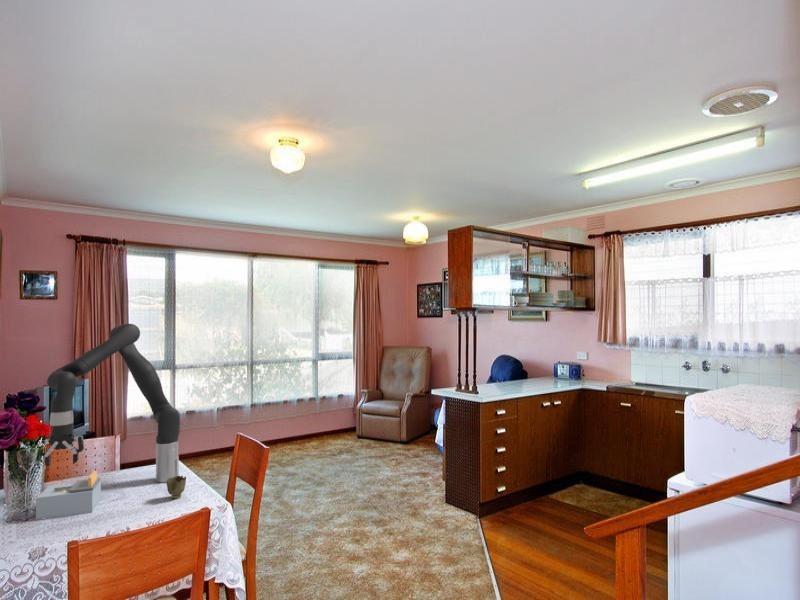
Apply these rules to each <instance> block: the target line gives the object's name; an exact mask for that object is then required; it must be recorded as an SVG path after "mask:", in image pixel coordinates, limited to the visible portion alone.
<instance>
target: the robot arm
mask: <svg viewBox="0 0 800 600" xmlns="http://www.w3.org/2000/svg"><path fill="white" fill-rule="evenodd" d="M109 334H110V335H109V338H108V339H107V340H105V341H104V342H102V343H101V344H98V345H97V346H95V347H93V348H91V349H90V350H88V351H86V352H84V353H83V354H82V355H80V356H79V357H77V358H76V359H75V360H73V361H72V362H70V363H67V364H66V365H63V366H62V367H60V368H57V369H55V370H54V371H53V372H51V374H49V376H48V377H47V380H46V385H47V387H48V388H50V389H52V390H53V389H54V390H56V394H55V396H53V397H52V398H51V400H50V416H49V427H50V426H53V430H52V427H51V430H52V431H51V433H50V432H49V438H48V439H47V438H44V439H45V440H42V439H41V440H42V443H43V444H44V445H45V446H46V445H48V444H49V445H50V447H49V449H47V451H46V447H45V448H44V453H42V456H41V457H43V458H44V465H45V466H46V468H47V467H49V468H50V467H51V465H52V464H51V463H52V455H51V454H52V453H53V451H54V450H55V451H59V450H67V449H68V450H69V451H71V453H72V464H76V463H77V462H78V461H79V453H81V452H83V451H84V449H85V444H84V435H77V436H74V412H73V406H74V405H73V402H74V401H73V399H74V396H75V392H76V389H77V382H78V381H77V378H78V377H83V376H85V375H87V374H88V373H90V372H91V371H92V370H93V369H95V368H96V367H98V366H99V365H100V364H102V363H103V362H104V361H106V360H107V359H109V358H110V357H112V356H113V355H114V354H116V353H117V352H118V353H119V355H120V356H121V357H122V359H123V361H124V362H125V364H126V367H127V369H128V371H130V374H131V376H132V378H133V380H134V382H135V384H136V385H137V387H138V389H139V390H140V392H141V394H142V395H143V397H144V398H145V399H146V401H147V402H148V405H149V407H150V409H151V412H152V415H153V418H154V419H155V422H156V423H157V435H156V437H155V481H156V482H157V483H167V481H166V480H167V479H169V478H171V477H172V478H173V477H174V476H175V477H177V476H180V472H179V471H180V469H179V468H180V467H179V465H180V464H179V462H180V461H179V460H180V459H179V457H180V456H179V436H180V426H181V424H180V423H181V417H180V412H179V410H178V409H176V408H175V407H173V406H172V405H171V404H170V402H169V400H168V399H167V397H166V395H165V393H164V391H163V385H162V382H161V379H160V377H159V374H158V373H157V370H156V369H155V367H154V365H153V364H152V363H151V362H150V361H149V359H147V358H146V357H145V356H144V355H142V354H141V353H140V352H139V350H138V349H137V346H136V344H135V343H136V342H137V341H138V340H139V338H140V336H141V331H140V328H139V327H138V326H137V325H135V324H134V323H125V324H120V325H117V326H115V327H113V328H112V329H111V331H110V333H109ZM74 441H75V442H76V443H77V445H78V446H76V445H75V444H74V443H73V442H74Z"/></svg>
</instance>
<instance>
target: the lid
mask: <svg viewBox="0 0 800 600" xmlns="http://www.w3.org/2000/svg"><path fill="white" fill-rule="evenodd" d="M100 480H101V478H100V477H98V470H93V471H92V472H91V473H90V474H89V476H88V477H87V479H79V480H77V481H76V482H74V483H75V484H74V485H73V486H72V487H71V488H70V489H69V492H77V491H85V490H93V489H94V488H95V486H96V485H97V484H98V482H99V481H100Z"/></svg>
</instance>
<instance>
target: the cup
mask: <svg viewBox="0 0 800 600" xmlns="http://www.w3.org/2000/svg"><path fill="white" fill-rule="evenodd" d="M166 481H167V482H166V487H167V492H168V494H169V495H170V496H171V498H172V499H173V500H178V499H179V498H181V497H182V493H183V492H184V491H185V489H186V481H187V477H186V475H185V476H183V475H179V476H177V477H175V476H174V477H173V478H172V477H171V478H169V479H167V480H166Z"/></svg>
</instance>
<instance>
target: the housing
mask: <svg viewBox="0 0 800 600" xmlns="http://www.w3.org/2000/svg"><path fill="white" fill-rule="evenodd" d="M75 483H76V482H71V483H70V482H69V483H61V484H53V485H48V486H47V487H46V488H45V489H44V490H43V491H42V492H41V493H40V494H39V495H38V496H37V497H36V498H35V501H36V502H35V520H36V521H37V520H38V519H39V520H44V519H43V518H46V519H54V518H60V517H66V516H67V517H68V516H74V515H83V514H90V513H94V510H95V509H96V507H97V506H98V505H99V503H100V501H101V500H102V480H101V479H100V481H99V482H98V484H97V485H96V486H95V488H94V489H93V490H85V491H77V492H69V489H70V488H71V487H72V486H73V485H74V484H75ZM60 489H67V491H64V492H56V493H54V492H55V491H56V490H60Z"/></svg>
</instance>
